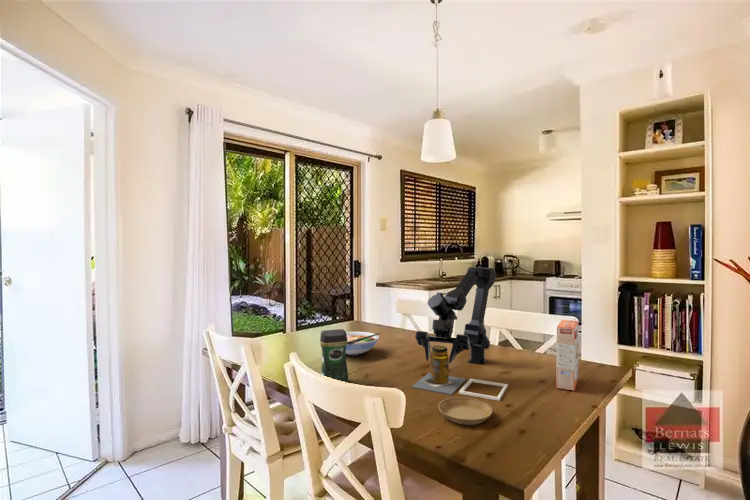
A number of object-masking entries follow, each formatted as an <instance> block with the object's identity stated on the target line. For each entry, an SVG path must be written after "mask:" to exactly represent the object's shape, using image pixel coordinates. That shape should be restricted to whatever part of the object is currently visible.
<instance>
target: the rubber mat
mask: <svg viewBox="0 0 750 500" xmlns="http://www.w3.org/2000/svg"><path fill="white" fill-rule="evenodd" d="M427 379H431V372H428V373H427V374H425V375H424V376H423V377H421V378H420V379H419V380H418V381H417V382H414V384H413V385H412V386H411V388H412V389H418V390H423V391H429V392H433V393H439V394H445V395H449V396H452V395H454V393H455V392H456V391H457V390H458V389H459V388H460V387H461V386H462V385H463V383H465V381H466V380H467V379H466V378H464V377H456V376H452V375H451V376H450V375H449V381H452V382H454V383H451V384H447V385H442V386H439V387H434V386H431V385H429V384H427V383H425V382H423V381H422V380H427Z"/></svg>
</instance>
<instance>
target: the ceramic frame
mask: <svg viewBox="0 0 750 500" xmlns="http://www.w3.org/2000/svg"><path fill="white" fill-rule="evenodd" d="M472 383H475V384H476V383H478V384H484V385H489V386H494V387H495V386H496V387H501V390H500V392H499V394H498V395H497V396H494V395H487V394H482V393H477V392H471V391H466V390H467V389H468V387H469V386H470V385H471V384H472ZM507 389H508V383H502V382H496V381H495V382H494V381H487V380H482V379H476V378H469V380H468V381H467V382H465V384H464V385H463V386H462V387H461V388H460V389H459V391H458V394H459V395H465V396H470V397H476V398H482V399H487V400H492V401H499V402H500V401H501V399H502V397H503V395H504V394H505V393H506V391H507Z"/></svg>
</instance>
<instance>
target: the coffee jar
mask: <svg viewBox="0 0 750 500" xmlns="http://www.w3.org/2000/svg"><path fill="white" fill-rule="evenodd" d="M320 331H321V330H320ZM346 332H347V331H346V330H345V329H343V328H339V329H338V328H337V329H336V328H335V329H327V330H322V331H321V332H320V338H319V344H320V347H321V364H320V365H321V367H320V368H321V369H320V375H321V374H322V375H324V376H327V377H331V378H333V379H337V380H341V381H345V382H347V383H348V381H349V372H348V370H349V369H348V364H347V355H346V345H347V335H346Z"/></svg>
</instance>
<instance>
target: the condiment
mask: <svg viewBox="0 0 750 500" xmlns="http://www.w3.org/2000/svg"><path fill="white" fill-rule="evenodd" d="M449 358H450V357H449V355H448V347H446V346H444V345H434V346H433V347H431V354H430V373H431V379H427V380H422V381H423V382H425V383H427V384H429V385H431V386H434V387H439V386H442V385H447V384H451V383H454V382H452V381H449V376H450V375H449V374H450V373H449V370H450V368H449V364H450V363H449Z"/></svg>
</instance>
